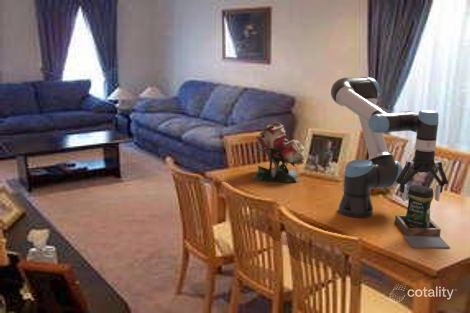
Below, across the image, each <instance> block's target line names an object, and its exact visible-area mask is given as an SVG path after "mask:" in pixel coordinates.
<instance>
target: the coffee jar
mask: <svg viewBox="0 0 470 313" xmlns="http://www.w3.org/2000/svg"><path fill="white" fill-rule="evenodd" d="M407 198H408V205H407V210H406V214H405V215H406V218H405V224H406V225H407V226H408V227H409V228H429V227H430V219H431V203H432V201H433V200H434V189H433V187H428V186H423V185H418V184H415V183H414V184H412V185H409V188H408V190H407Z"/></svg>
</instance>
